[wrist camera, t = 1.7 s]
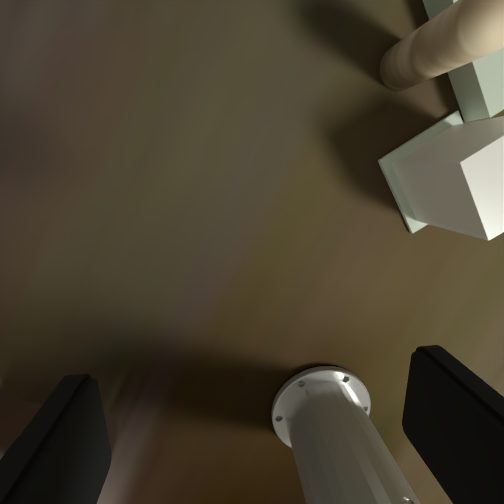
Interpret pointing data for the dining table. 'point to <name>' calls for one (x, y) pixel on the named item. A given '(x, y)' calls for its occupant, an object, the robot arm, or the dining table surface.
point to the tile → (404, 150)
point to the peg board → (475, 77)
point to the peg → (445, 43)
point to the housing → (458, 179)
